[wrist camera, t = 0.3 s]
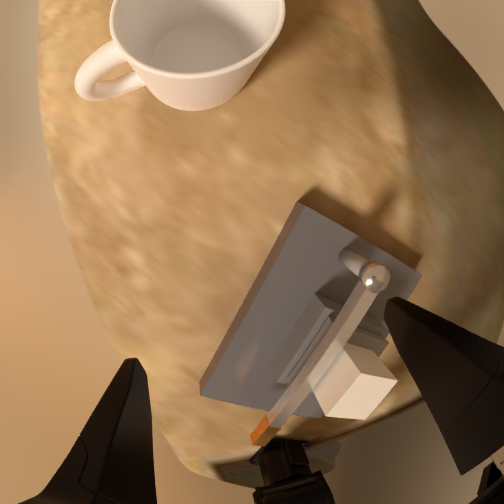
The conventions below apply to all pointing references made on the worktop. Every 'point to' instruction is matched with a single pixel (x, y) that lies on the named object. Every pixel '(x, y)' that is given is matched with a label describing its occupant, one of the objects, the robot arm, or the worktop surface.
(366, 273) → the latch bar
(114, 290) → the worktop surface
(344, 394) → the plug
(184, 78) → the mug
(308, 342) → the socket block
